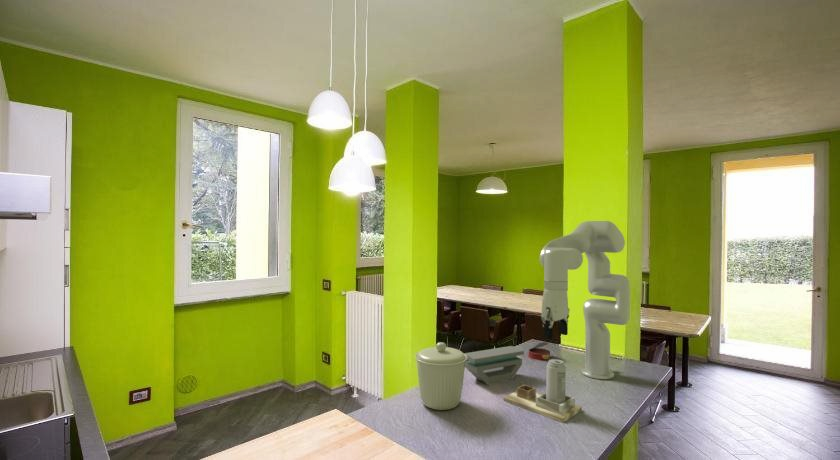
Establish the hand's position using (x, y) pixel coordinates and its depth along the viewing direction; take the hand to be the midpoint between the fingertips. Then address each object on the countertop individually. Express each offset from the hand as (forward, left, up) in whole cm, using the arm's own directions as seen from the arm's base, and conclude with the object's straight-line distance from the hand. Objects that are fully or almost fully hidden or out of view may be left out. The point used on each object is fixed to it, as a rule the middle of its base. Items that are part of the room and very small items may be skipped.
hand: (555, 336), depth 133 cm
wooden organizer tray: (0, -5, -24) cm, 25 cm away
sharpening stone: (-8, -31, -25) cm, 40 cm away
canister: (+25, -29, -25) cm, 46 cm away
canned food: (-48, -34, -25) cm, 64 cm away
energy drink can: (0, 0, -23) cm, 23 cm away
